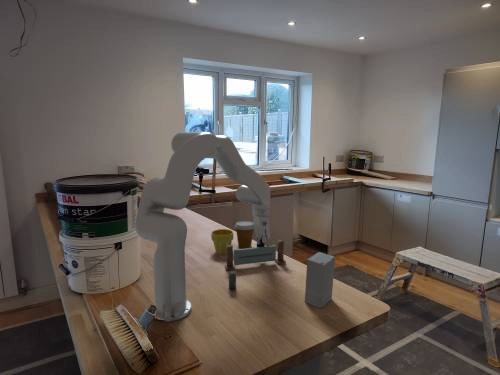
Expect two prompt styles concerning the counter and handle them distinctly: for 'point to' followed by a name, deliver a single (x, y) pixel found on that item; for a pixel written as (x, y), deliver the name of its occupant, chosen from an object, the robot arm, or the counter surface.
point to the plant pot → (222, 240)
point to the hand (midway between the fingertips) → (260, 252)
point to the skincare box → (319, 279)
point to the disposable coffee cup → (244, 233)
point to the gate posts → (231, 267)
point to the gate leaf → (254, 255)
